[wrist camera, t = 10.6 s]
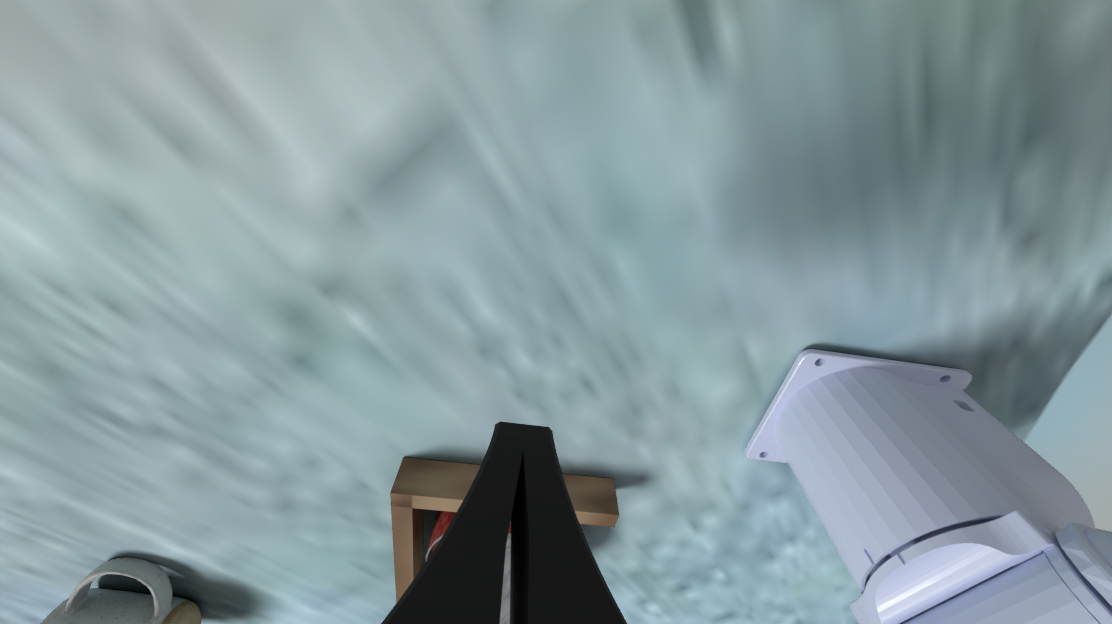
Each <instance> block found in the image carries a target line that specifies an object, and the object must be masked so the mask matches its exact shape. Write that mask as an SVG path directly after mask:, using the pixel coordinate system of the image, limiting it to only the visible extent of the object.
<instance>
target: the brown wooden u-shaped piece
mask: <svg viewBox="0 0 1112 624" xmlns="http://www.w3.org/2000/svg"><path fill="white" fill-rule="evenodd" d="M480 467H481V465H474V464H465V463H455V462H445V461H436V460H426V459H417V458H407V457H403V460H402V463H401V465H400V468H399V471H398V474H397V476H396V479H395V482H394V485H393V487H392V490H391V493H390V495H391V513H392V531H393V548H394V566H395V583H396V601H397V602H398V601H399V599H400V598H401V597H402V595H403V594H404V592H405V591H406V590H407V588H408V587H409V585H410V584H411V583H412V581H413V580H414V579H415V577H416V576H417V574H418V573H419V571H420V570H421V568H422V567H423V509H427V510H438V511H448V512H457V511H458V509H459V507H460V505H461V504H462V502H463V500H464V498H465V497H466V495H467V493H468V491H469V489H470V487H471V485H472V483H473V481H474V479H475V477H476V475H477V473H478V471H479V469H480ZM562 475H563V478H564V482H565V485H566V488H567V491H568V493H569V496H570V499H571V502H572V505H573V508H574V510H575V513H576V516H577V518H578V521H579V524H587V525H597V526H608V527H615V524H616V522H617V519H618V516H619V512H618V504H617V497H616V490H615V483H614V479H609V478H599V477H590V476H580V475H570V474H562Z"/></svg>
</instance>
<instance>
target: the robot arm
mask: <svg viewBox="0 0 1112 624" xmlns="http://www.w3.org/2000/svg"><path fill="white" fill-rule="evenodd" d="M820 358H821V359H820ZM818 359H820V360H818ZM816 360H818V361H816ZM815 361H816V362H815ZM971 380H972V376H971V374H969V373H968V372H967V371H965V370H960V369H953V368H946V367H938V366H931V365H924V364H917V363H909V362H902V361H895V360H887V359H880V358H873V357H865V356H858V355H851V354H844V353H836V352H829V351H822V350H814V349H808V350H805V351H803V352H801V353H800V354H799V356H798V357H797V359H796V361H795V363H794V364H793V366H792V368H791V370H790V371H789V373H788V375H787V377H786V378H785V380H784V382H783V384H782V385H781V387H780V389H779V391H778V392H777V394H776V396H775V398H774V399H773V401H772V403H771V405H770V406H769V408H768V410H767V412H766V413H765V415H764V417H763V419H762V420H761V422H760V424H759V426H758V427H757V429H756V431H755V433H754V434H753V436H752V438H751V440H750V441H749V443H748V445H747V447H746V448H745V452H746V455H747V457H749V458H751V459H758V460H767V461H776V462H785V463H788V464H789V465H790V467H791V469H792V471H793V472H794V474H795V476H796V478H797V480H798V481H799V483H800V485H801V487H802V488H803V490H804V492H805V494H806V496H807V497H808V499H809V501H810V503H811V505H812V506H813V508H814V510H815V512H816V513H817V515H818V517H819V519H820V521H821V522H822V524H823V526H824V528H825V529H826V531H827V533H828V535H829V537H830V538H831V540H832V542H833V544H834V545H835V547H836V549H837V551H838V553H839V554H840V556H841V558H842V560H843V562H844V563H845V565H846V567H847V569H848V570H849V572H850V574H851V576H852V578H853V579H854V581H855V583H856V585H857V586H858V588H859V590H860V592H861V594H862V595H861V596H860V597H859V598H858V599H857V600H855V601H854V602H852V603H851V604H850V607H851V609H852V611H853V612H854V614H855V616H856V618H857V620H858V622H859V624H1112V532H1110V531H1105V530H1101V529H1096V528H1095V525H1094V521H1093V519H1092V516H1091V514H1090V511H1089V509H1088V507H1087V505H1086V503H1085V502H1084V500H1083V499H1082V497H1081V496H1080V494H1079V492H1078V491H1077V490H1076V489H1075V487H1074V486H1073V485H1072V484H1071V483H1070V482H1069V481H1068V480H1067V479H1066V478H1065V477H1064V476H1063V475H1062V474H1061V473H1059V472H1058V471H1057V470H1056V469H1055V468H1054V467H1053V466H1051V465H1050V464H1049V463H1048V462H1046V460H1044V459H1043V458H1042V457H1041V456H1040V455H1038V454H1037V453H1036V452H1035V451H1034V450H1033V449H1031V448H1030V447H1029V446H1028V445H1027V444H1025V443H1024V442H1023V441H1022V440H1021V439H1019V438H1018V437H1017V436H1016V435H1015V434H1014V433H1012V432H1011V431H1010V430H1009V429H1008V428H1006V427H1005V426H1004V425H1003V424H1002V423H1001V422H999V421H998V420H997V419H996V418H995V417H993V416H992V415H991V414H990V413H989V412H987V411H986V410H985V409H984V408H983V407H982V406H980V405H979V404H978V403H977V402H976V401H974V400H973V399H972V398H971V397H970V396H969V395H967V394H966V393H965V392H964V391H963V390H964V389H965V388H966V387H967V386H968V384H969V383H970V382H971ZM510 521H511V555H510V623H509V624H627V622H626V621H625V619H624V617H623V615H622V613H621V611H620V609H619V607H618V606H617V604H616V602H615V600H614V598H613V596H612V594H611V592H610V590H609V588H608V586H607V584H606V582H605V580H604V578H603V576H602V574H601V572H600V570H599V568H598V565H597V563H596V561H595V559H594V557H593V554H592V552H591V550H590V548H589V545H588V543H587V541H586V538H585V536H584V533H583V531H582V529H581V526H580V524H579V521H578V518H577V516H576V513H575V510H574V508H573V505H572V502H571V499H570V496H569V493H568V491H567V488H566V485H565V482H564V478H563V475H562V472H561V468H560V465H559V461H558V457H557V453H556V449H555V444H554V439H553V433H552V430H551V429H550V428H549V427H543V426H534V425H525V424H516V423H507V422H499V423H497V424H495V428H494V433H493V436H492V439H491V442H490V445H489V448H488V450H487V453H486V455H485V457H484V460H483V462H482V464H481V467H480V469H479V471H478V473H477V475H476V477H475V479H474V481H473V483H472V485H471V487H470V489H469V491H468V493H467V495H466V497H465V498H464V500H463V502H462V504H461V505H460V507H459V509H458V511H457V512H456V514H455V516H454V518H453V519H452V521H451V523H450V524H449V526H448V528H447V530H446V531H445V533H444V535H443V536H442V538H441V539H440V541H439V542H438V544H437V546H436V547H435V549H434V550H433V552H432V553H431V555H430V556H429V558H428V559H427V561H426V562H425V564H424V565H423V567H422V568H421V570H420V571H419V573H418V574H417V576H416V577H415V579H414V580H413V581H412V583H411V584H410V585H409V587H408V588H407V590H406V591H405V592H404V594H403V595H402V597H401V598H400V599H399V601H398V602H397V604H396V605H395V606H394V608H393V609H392V610H391V612H390V613H389V614H388V616H387V617H386V618H385V620H384V621H383V622H382V623H381V624H500V613H501V600H502V588H503V576H504V564H505V552H506V543H507V537H508V532H509V526H510Z"/></svg>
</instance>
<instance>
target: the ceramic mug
mask: <svg viewBox="0 0 1112 624" xmlns="http://www.w3.org/2000/svg"><path fill="white" fill-rule="evenodd" d="M106 574H115V575H118V574H119V575H124V576H128V577H132V578H134V579H137V580H138V581H140V582H142V583H143V584H144V585H146V586H147V587H148V588H149V590H150V591H151V593H152V595H150V594H142V593H135V592H128V591H119V590H109V589H100V588H90V585H91V583H92V581H93V580H95V579H97V578H98V577H101V576H103V575H106ZM169 580H170V579H169V577H168V576H167V574H166V573H165V572H164V571H163V569H161V568H160V567H159V566H157V565H154V564H153V563H152V562H150V561H146V560H143V559H138V558H129V557H123V558H117V559H112V560H110V561H107V562H105V563H104V564H102V565H100V566H99V567H97V568H96V569H95V570H94V571H92V572H91V573H90V574H89V575H88V576H86V577H85V578H84V579H83V580H82V581H81V582H80V583H79V584H78V585H77V586H76V587H75V589H74V591H73V592H72V594H71V595H70V597H69V598H68V599H67V600H65V601H63V602H62V603H61V604H60V605H59V606H58V607H57V608H56V609H54V610H53V611H52V612H51V613H50V614H49V615H48V616H47V617H46V618H45V619H44V620H43V621H42V622H41V624H201V612H200V610H199V608H198V606H197V605H196V604H195V602H192V601H189V600H186V599H184V598H179V597H173V596H172V593H173V591H172V587H171V583H170V581H169Z"/></svg>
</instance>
